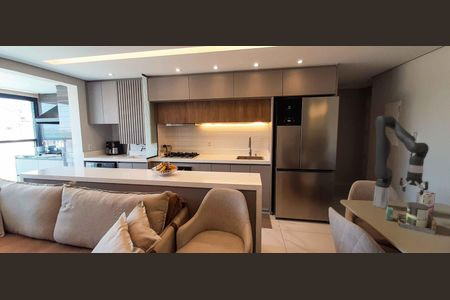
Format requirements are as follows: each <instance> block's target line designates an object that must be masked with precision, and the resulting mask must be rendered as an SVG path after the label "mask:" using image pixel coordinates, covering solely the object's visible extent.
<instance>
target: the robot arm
mask: <svg viewBox="0 0 450 300" xmlns="http://www.w3.org/2000/svg"><path fill="white" fill-rule="evenodd" d="M386 128H389V129H391V130H393V132H394V135H395V137H396V138H397V140H399V141H400V142H401V143H402V144H403V146H405V148H406V150H407V151H408V152H410V153H413V154H414V155H412V156H410V157H409V159H408V160H409V161H408V167H407V174H406V177H403V176H402V177H400V179H399V186H400V187H401V186H402V189H401V190H402V192H403V193H406V191H407V190H406V189H407V186H408V185H409V186H414V187H418V188H419V189H420V191H419V192H420V196H422V195H423V193H424V192H425V191H429V183H430V181H428V180H423V175H424V162H425V159H426V157H427V154H428V153H429V148H430V147H429V145H428V143H425V142H416V138H415V136H413V135H412V134H411V133H410V132H409V131H407V130H406V129H405V128H404V127H403V126H402V125H401V124H400V123H399V122H398V120H397V119H396V118H395V117H394V116H392V115H378V116H377V117H376V118H375V132H376V135H375V136H376V143H375V148H376V149H375V153H376V154H375V166H374V176H375V177H376V178H377V181H375V184H374V187H375V188H374V194H373V202H372V203H373V204H372V205H373V206H375V207H377V208H381V209H387V207H389V197H390V187H391V184H392V179H393V170H392V168H391V167H388V166H387V165H388V159H389V157H390V156H391V153H392V152H391V150H392V142H391V140H390V139H389V137H388V136H387V132H386ZM404 181H406V183H404ZM422 184H423V185H424V187H423V185H422Z"/></svg>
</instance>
